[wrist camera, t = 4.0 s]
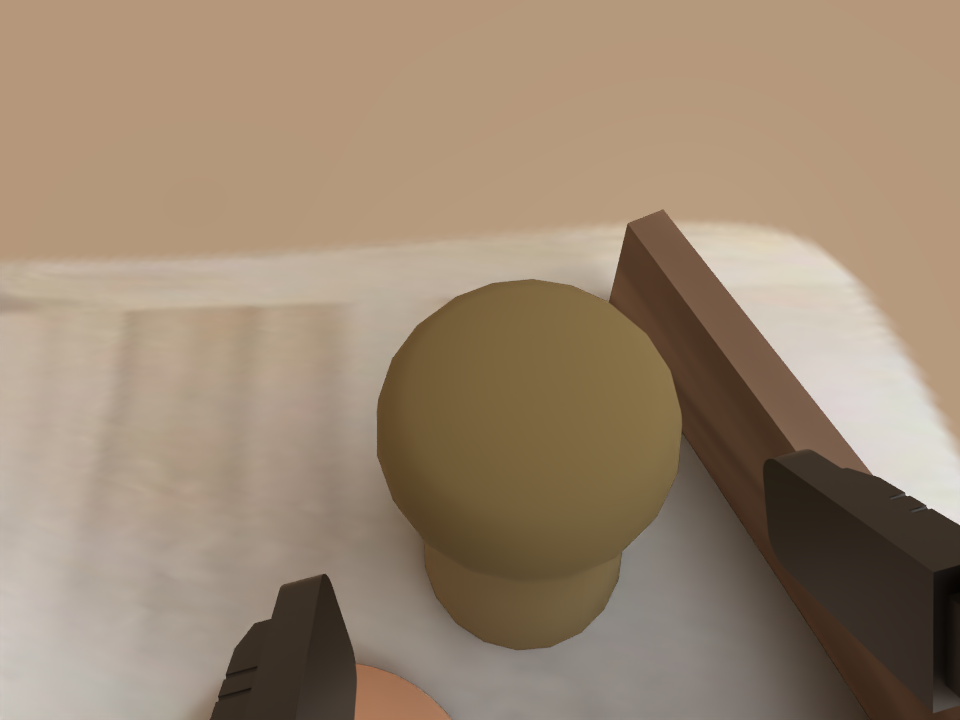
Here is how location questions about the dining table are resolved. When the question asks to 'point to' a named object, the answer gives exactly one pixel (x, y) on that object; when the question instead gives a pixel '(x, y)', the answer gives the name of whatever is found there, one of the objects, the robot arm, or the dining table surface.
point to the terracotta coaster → (392, 698)
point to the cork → (527, 454)
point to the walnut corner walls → (743, 420)
